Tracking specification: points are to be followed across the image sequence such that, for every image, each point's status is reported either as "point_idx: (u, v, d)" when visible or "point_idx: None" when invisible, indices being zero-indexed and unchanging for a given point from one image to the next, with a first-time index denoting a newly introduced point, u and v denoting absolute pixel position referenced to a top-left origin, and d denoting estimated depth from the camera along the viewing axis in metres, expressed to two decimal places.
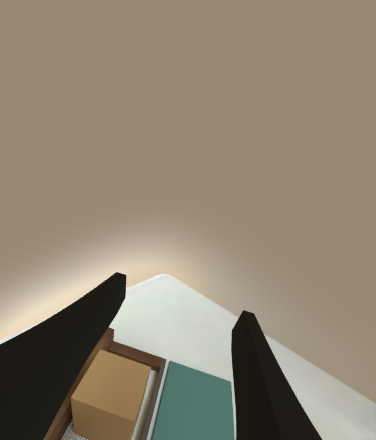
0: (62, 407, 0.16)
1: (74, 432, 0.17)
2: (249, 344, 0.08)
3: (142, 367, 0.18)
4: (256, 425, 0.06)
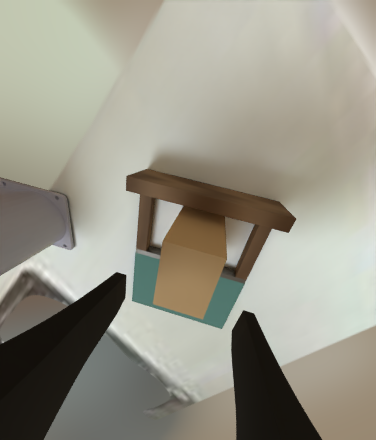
0: (184, 200, 0.13)
1: None
2: (249, 344, 0.08)
3: (202, 311, 0.12)
4: (256, 425, 0.06)
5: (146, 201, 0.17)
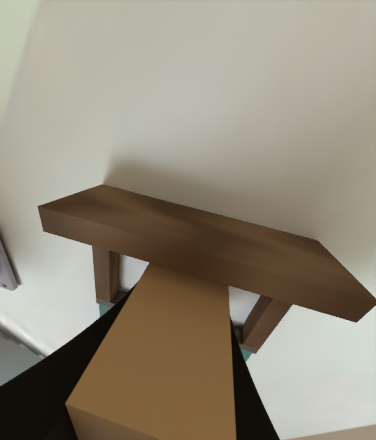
0: (150, 254, 0.07)
1: None
2: None
3: None
4: None
5: None
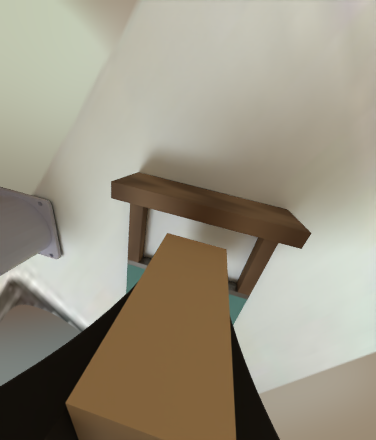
0: (179, 210, 0.11)
1: (166, 235, 0.11)
2: None
3: None
4: None
5: (137, 208, 0.15)
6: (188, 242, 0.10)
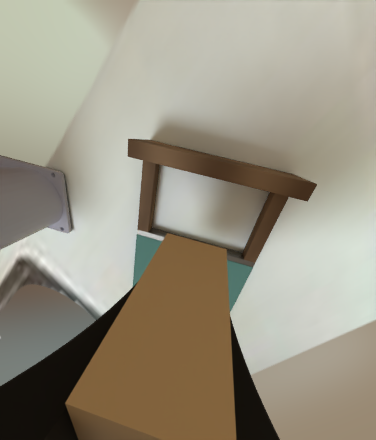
0: (192, 166, 0.12)
1: (166, 235, 0.11)
2: None
3: None
4: None
5: (149, 175, 0.15)
6: (188, 242, 0.10)
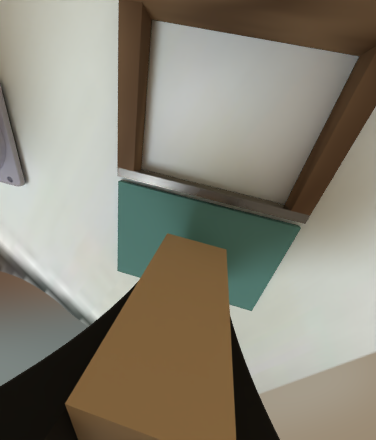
0: None
1: (165, 236, 0.11)
2: None
3: None
4: None
5: (131, 49, 0.09)
6: (188, 242, 0.10)
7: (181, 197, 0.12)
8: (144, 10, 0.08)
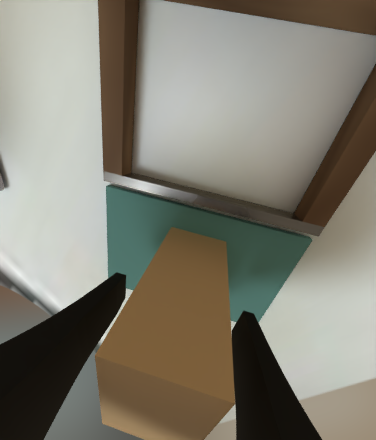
0: None
1: (170, 229, 0.11)
2: (249, 344, 0.08)
3: None
4: (256, 425, 0.06)
5: (114, 31, 0.07)
6: (191, 235, 0.11)
7: (176, 204, 0.11)
8: None
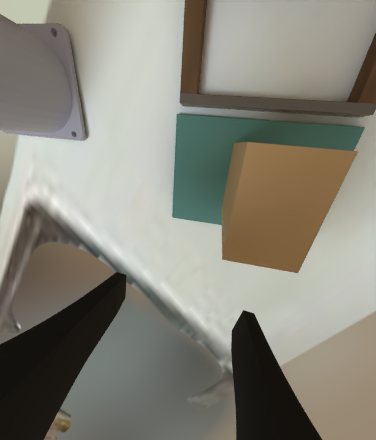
0: None
1: None
2: (249, 344, 0.08)
3: (299, 259, 0.08)
4: (256, 425, 0.06)
5: None
6: None
7: (239, 119, 0.13)
8: None
